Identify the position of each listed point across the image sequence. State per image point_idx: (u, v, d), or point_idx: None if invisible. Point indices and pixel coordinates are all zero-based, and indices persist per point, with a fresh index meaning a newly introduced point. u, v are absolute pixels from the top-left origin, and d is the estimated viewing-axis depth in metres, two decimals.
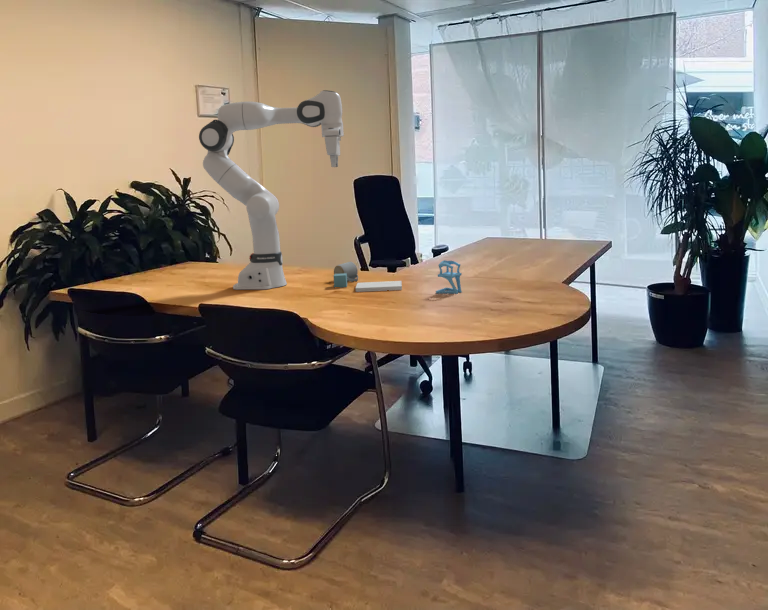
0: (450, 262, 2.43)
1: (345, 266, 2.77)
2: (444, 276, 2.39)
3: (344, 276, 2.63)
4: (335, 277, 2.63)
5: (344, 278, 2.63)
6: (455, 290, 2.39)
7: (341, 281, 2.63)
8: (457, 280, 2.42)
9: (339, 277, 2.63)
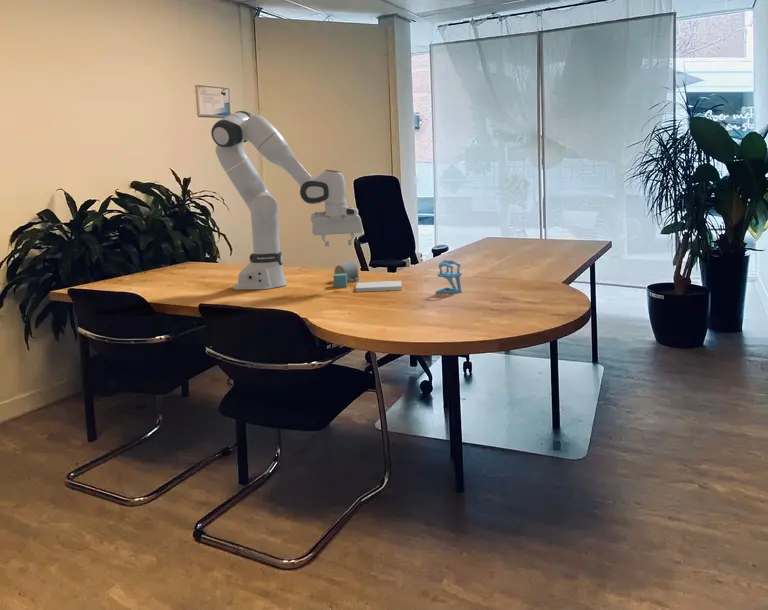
0: (450, 262, 2.43)
1: (346, 266, 2.77)
2: (444, 276, 2.39)
3: (344, 276, 2.63)
4: (335, 277, 2.63)
5: (344, 278, 2.63)
6: (455, 290, 2.39)
7: (341, 281, 2.63)
8: (457, 280, 2.42)
9: (339, 277, 2.63)
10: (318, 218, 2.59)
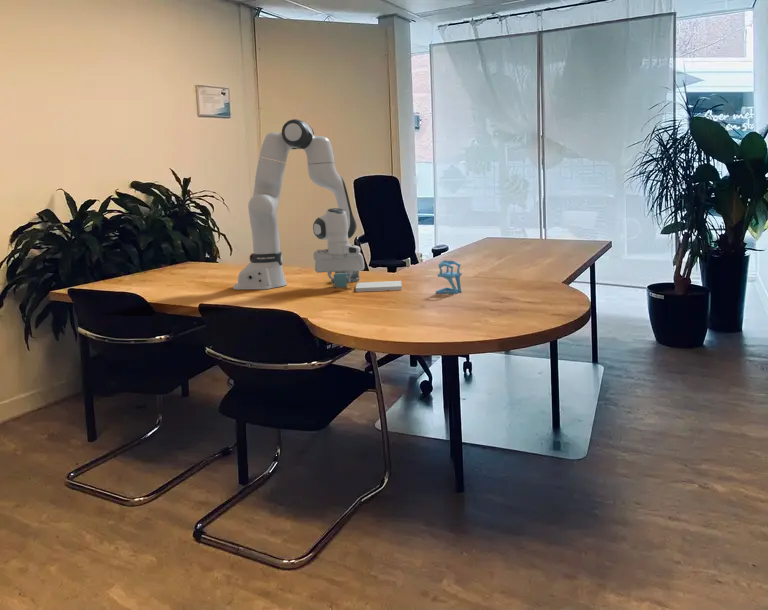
0: (450, 262, 2.43)
1: None
2: (444, 276, 2.39)
3: (344, 276, 2.63)
4: (335, 277, 2.63)
5: (344, 278, 2.63)
6: (455, 290, 2.39)
7: (341, 281, 2.63)
8: (457, 280, 2.42)
9: (339, 276, 2.63)
10: (321, 256, 2.62)
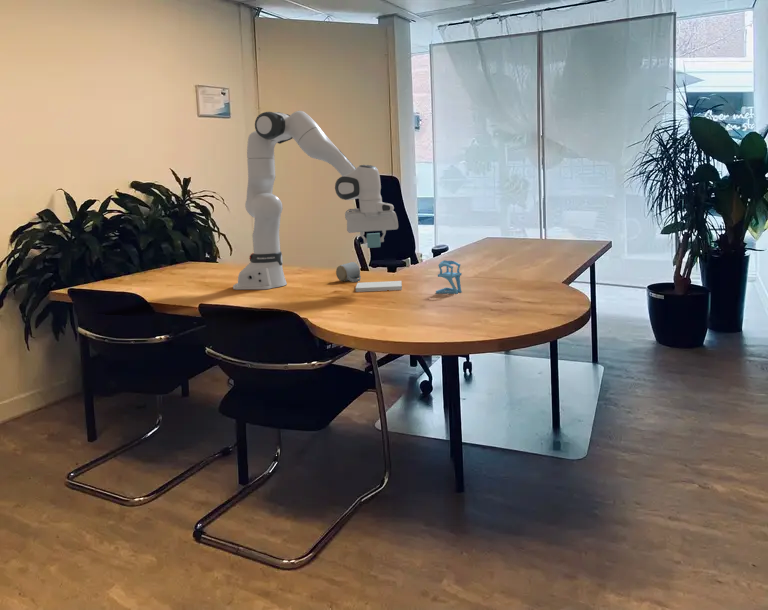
0: (450, 262, 2.43)
1: (348, 266, 2.76)
2: (444, 276, 2.39)
3: (378, 235, 2.52)
4: (368, 236, 2.52)
5: (378, 237, 2.52)
6: (455, 290, 2.39)
7: (375, 241, 2.53)
8: (457, 280, 2.42)
9: (372, 236, 2.52)
10: (353, 215, 2.51)
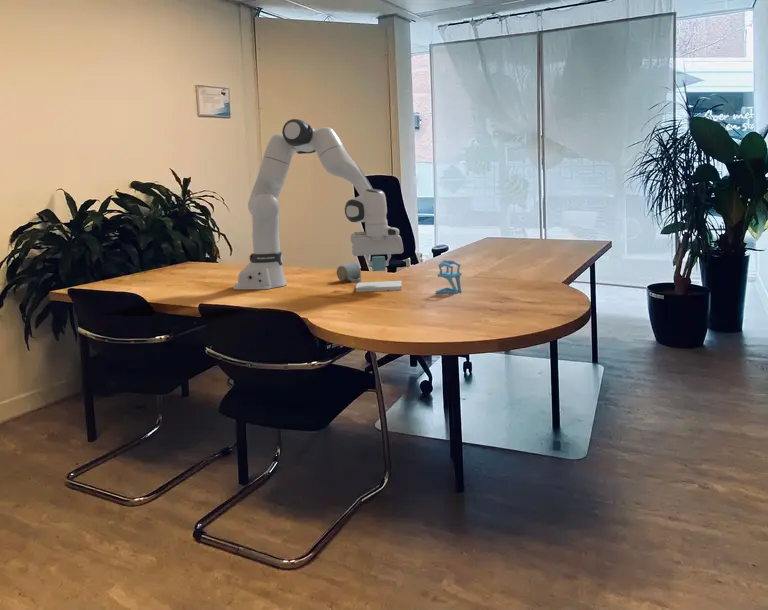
0: (450, 262, 2.43)
1: (348, 266, 2.76)
2: (444, 276, 2.39)
3: (383, 259, 2.54)
4: (373, 260, 2.54)
5: (383, 261, 2.54)
6: (455, 290, 2.39)
7: (380, 264, 2.54)
8: (457, 280, 2.42)
9: (377, 259, 2.54)
10: (358, 238, 2.53)
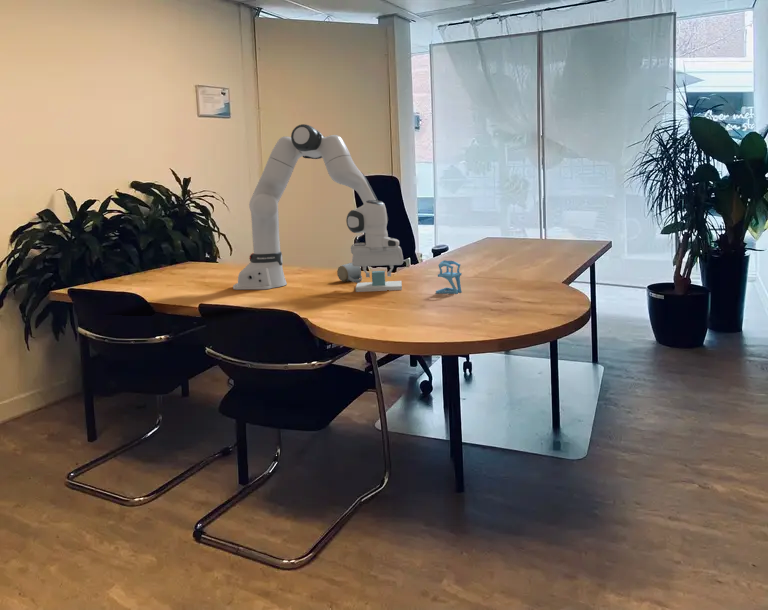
0: (450, 262, 2.43)
1: (349, 266, 2.75)
2: (444, 276, 2.39)
3: (383, 273, 2.54)
4: (373, 275, 2.55)
5: (383, 276, 2.55)
6: (455, 290, 2.39)
7: (379, 279, 2.55)
8: (457, 280, 2.42)
9: (377, 274, 2.55)
10: (358, 249, 2.53)
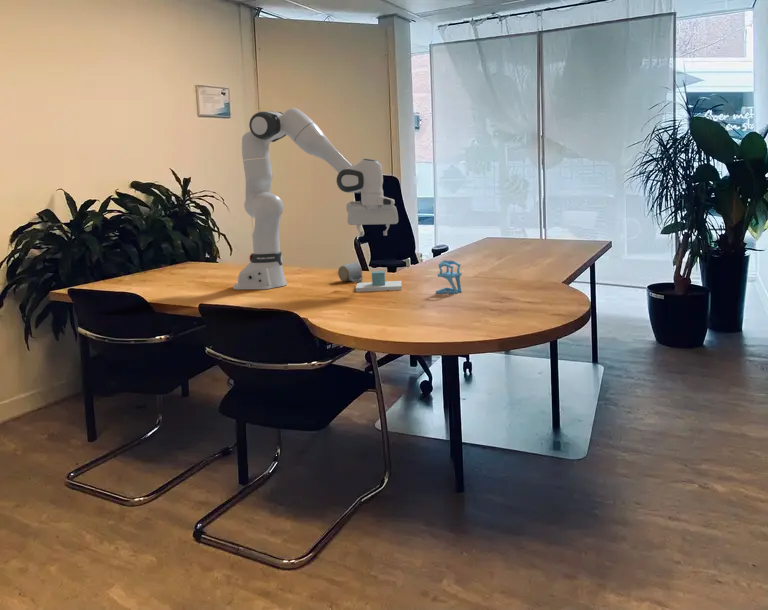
0: (450, 262, 2.43)
1: (350, 266, 2.75)
2: (444, 276, 2.39)
3: (383, 273, 2.54)
4: (373, 275, 2.55)
5: (383, 276, 2.55)
6: (455, 290, 2.39)
7: (379, 279, 2.55)
8: (457, 280, 2.42)
9: (377, 274, 2.55)
10: (354, 207, 2.55)
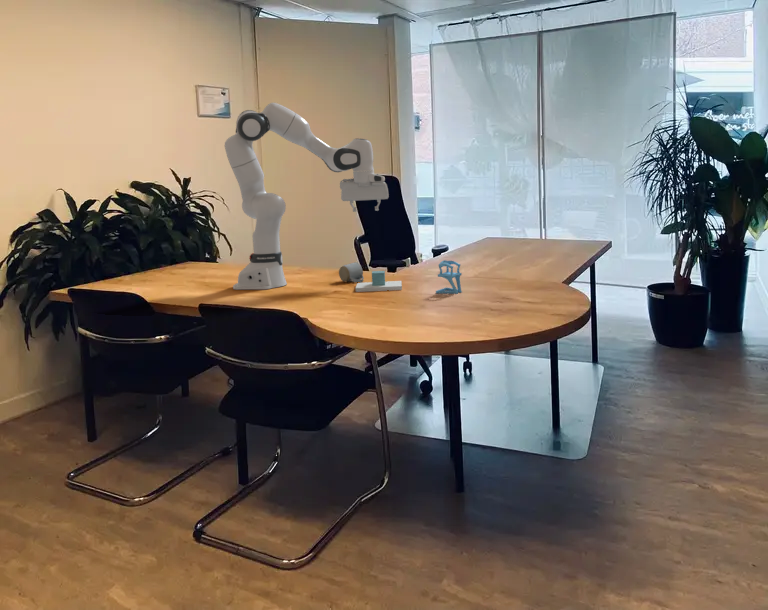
0: (450, 262, 2.43)
1: (351, 266, 2.74)
2: (444, 276, 2.39)
3: (383, 273, 2.54)
4: (373, 275, 2.55)
5: (383, 276, 2.55)
6: (455, 290, 2.39)
7: (379, 279, 2.55)
8: (457, 280, 2.42)
9: (377, 274, 2.55)
10: (347, 184, 2.73)
